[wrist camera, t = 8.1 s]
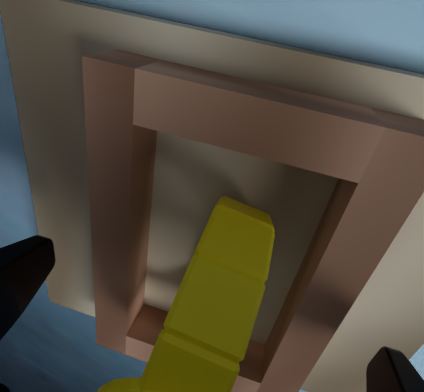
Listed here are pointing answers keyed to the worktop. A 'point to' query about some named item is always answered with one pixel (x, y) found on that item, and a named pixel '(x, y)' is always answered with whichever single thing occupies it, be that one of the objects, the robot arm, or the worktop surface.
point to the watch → (211, 307)
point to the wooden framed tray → (223, 182)
